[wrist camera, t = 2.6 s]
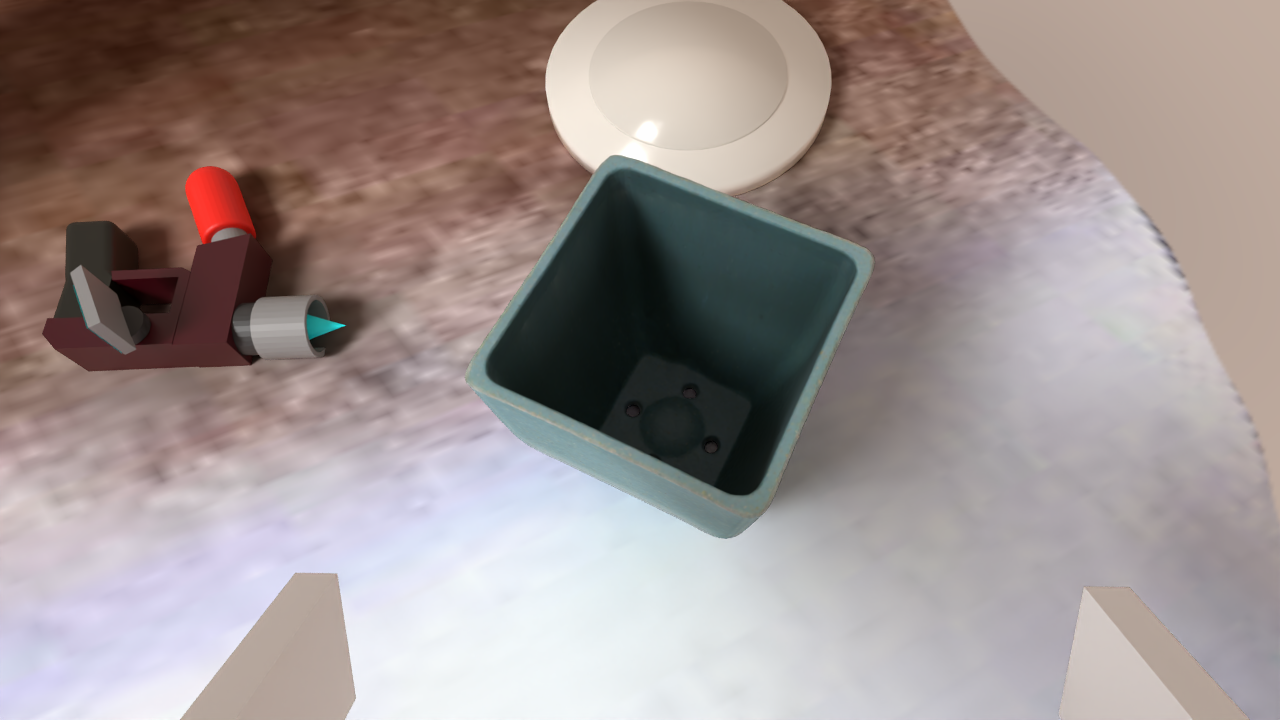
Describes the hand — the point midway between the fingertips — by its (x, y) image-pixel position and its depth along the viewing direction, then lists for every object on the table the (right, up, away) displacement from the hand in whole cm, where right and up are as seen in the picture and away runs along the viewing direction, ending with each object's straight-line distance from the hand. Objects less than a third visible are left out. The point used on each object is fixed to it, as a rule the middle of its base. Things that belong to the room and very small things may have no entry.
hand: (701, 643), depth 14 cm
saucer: (+1, +18, +23) cm, 29 cm away
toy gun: (-19, +8, +20) cm, 29 cm away
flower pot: (0, +2, +16) cm, 16 cm away
